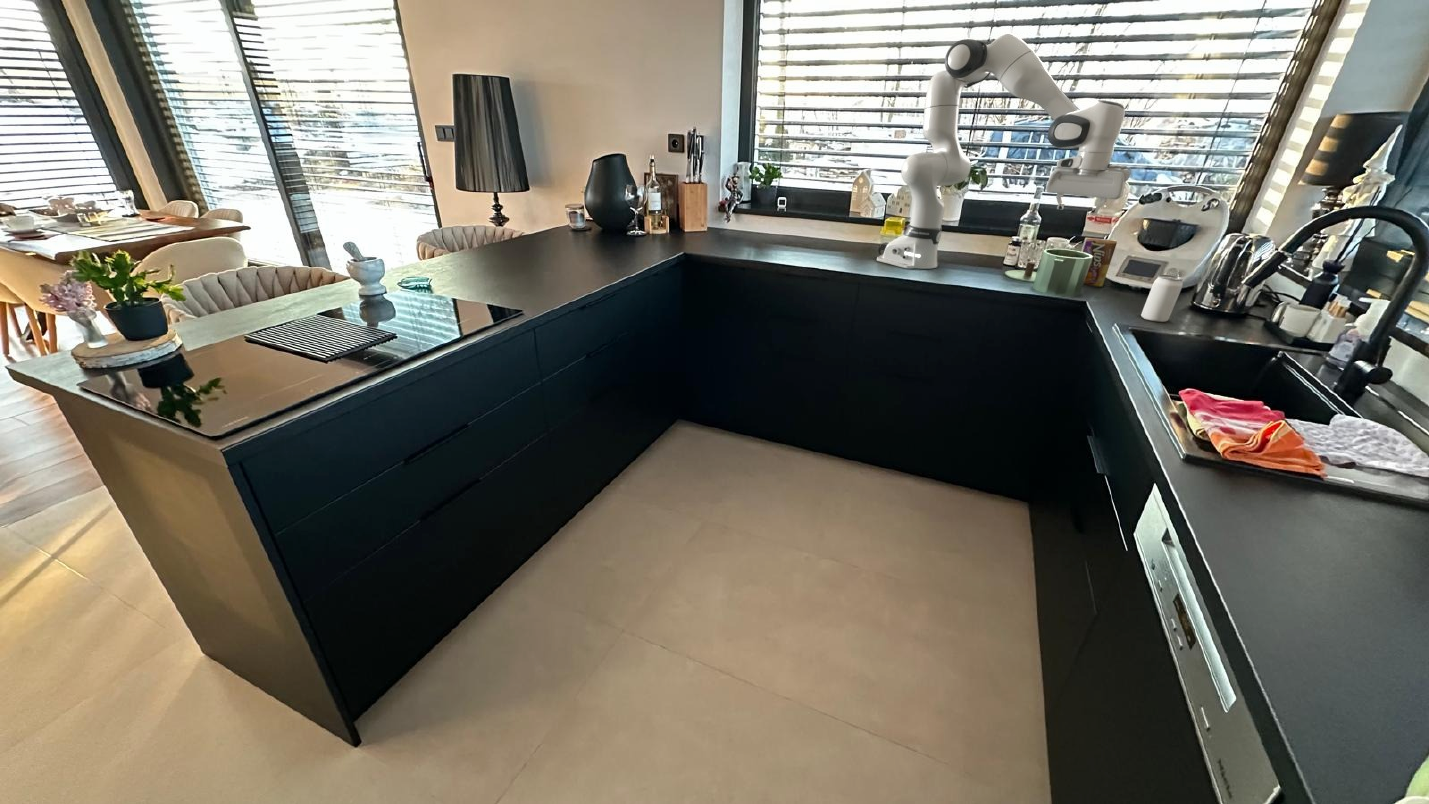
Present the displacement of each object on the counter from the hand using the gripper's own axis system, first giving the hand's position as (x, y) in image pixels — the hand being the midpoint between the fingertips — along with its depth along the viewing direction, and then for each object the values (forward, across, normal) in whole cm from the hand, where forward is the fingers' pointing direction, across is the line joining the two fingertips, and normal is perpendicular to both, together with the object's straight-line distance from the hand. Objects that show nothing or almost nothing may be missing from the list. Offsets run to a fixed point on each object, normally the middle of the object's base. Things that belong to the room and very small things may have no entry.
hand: (1076, 211), depth 171 cm
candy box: (+25, -6, -17) cm, 31 cm away
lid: (+25, +11, -10) cm, 29 cm away
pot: (+25, -2, +1) cm, 25 cm away
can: (+25, -30, +10) cm, 40 cm away
